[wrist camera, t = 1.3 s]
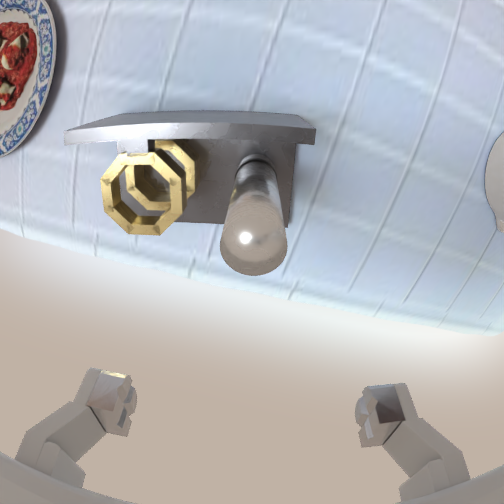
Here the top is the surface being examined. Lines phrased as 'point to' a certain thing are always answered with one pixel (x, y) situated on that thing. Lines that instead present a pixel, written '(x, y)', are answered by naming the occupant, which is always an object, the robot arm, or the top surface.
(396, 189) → the top surface
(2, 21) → the ceramic plate
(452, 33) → the top surface
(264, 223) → the grey metal rod
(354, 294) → the top surface
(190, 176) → the collar stand
